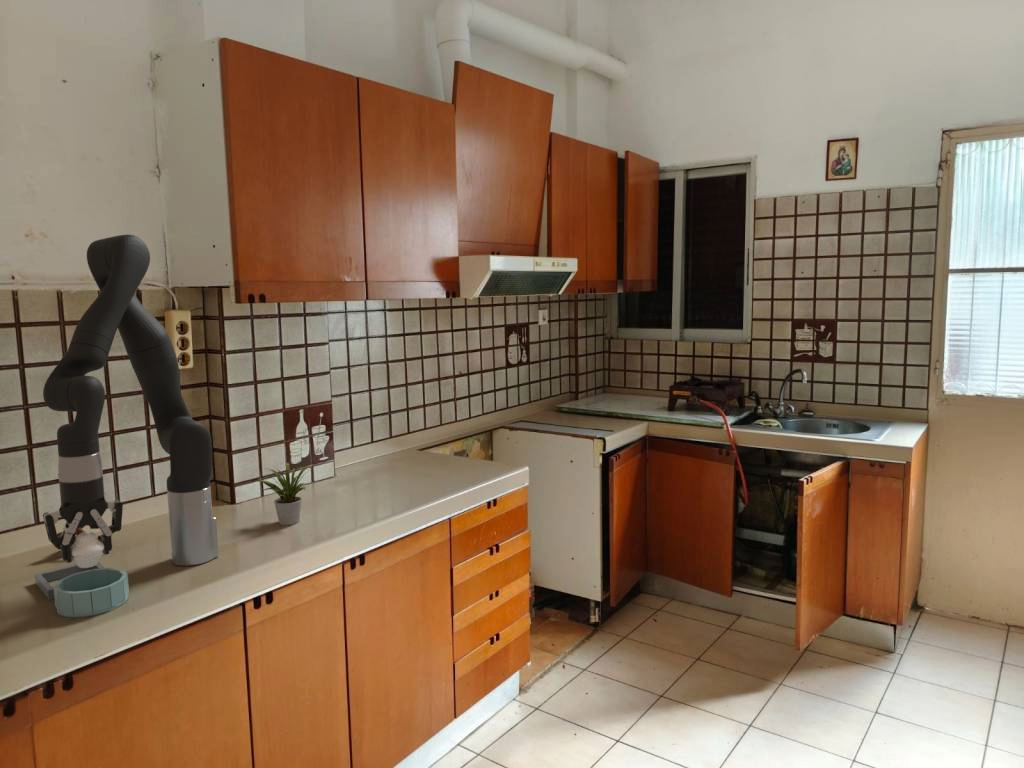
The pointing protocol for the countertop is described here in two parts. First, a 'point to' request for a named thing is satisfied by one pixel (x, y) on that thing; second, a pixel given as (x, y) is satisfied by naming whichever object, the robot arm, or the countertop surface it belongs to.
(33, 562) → the countertop surface
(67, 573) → the square frame
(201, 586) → the countertop surface
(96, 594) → the bowl
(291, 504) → the house plant
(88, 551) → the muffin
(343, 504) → the countertop surface
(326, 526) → the countertop surface
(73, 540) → the brown looped piece
